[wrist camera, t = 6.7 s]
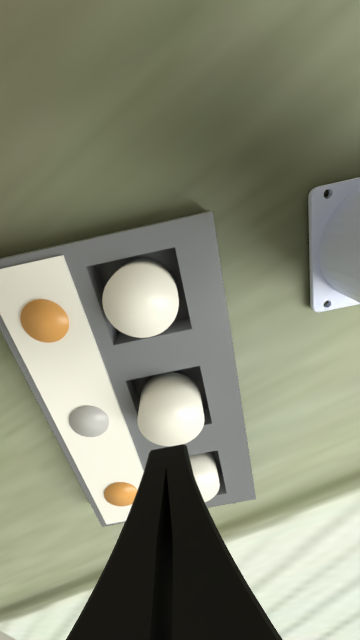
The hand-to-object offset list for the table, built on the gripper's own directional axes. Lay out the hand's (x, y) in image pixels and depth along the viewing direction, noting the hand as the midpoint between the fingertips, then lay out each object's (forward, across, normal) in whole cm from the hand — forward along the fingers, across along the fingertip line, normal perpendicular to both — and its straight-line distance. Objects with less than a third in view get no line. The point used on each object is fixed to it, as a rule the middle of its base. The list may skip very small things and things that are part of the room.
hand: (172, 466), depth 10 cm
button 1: (+10, +1, -4) cm, 11 cm away
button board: (+10, +2, +4) cm, 11 cm away
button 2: (+9, +1, +4) cm, 10 cm away
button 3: (+10, 0, +12) cm, 16 cm away
